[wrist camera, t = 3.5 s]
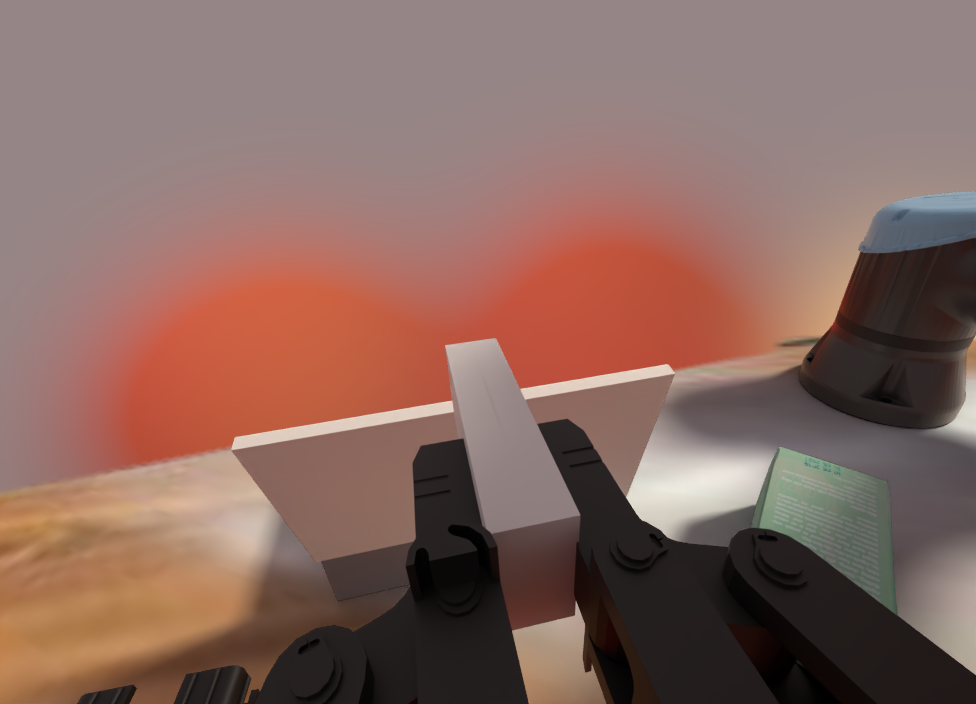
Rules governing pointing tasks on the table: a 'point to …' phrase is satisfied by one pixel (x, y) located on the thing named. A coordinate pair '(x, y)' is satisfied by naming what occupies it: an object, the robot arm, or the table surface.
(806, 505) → the box
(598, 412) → the cover
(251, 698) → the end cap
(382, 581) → the grey tray
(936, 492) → the table surface
